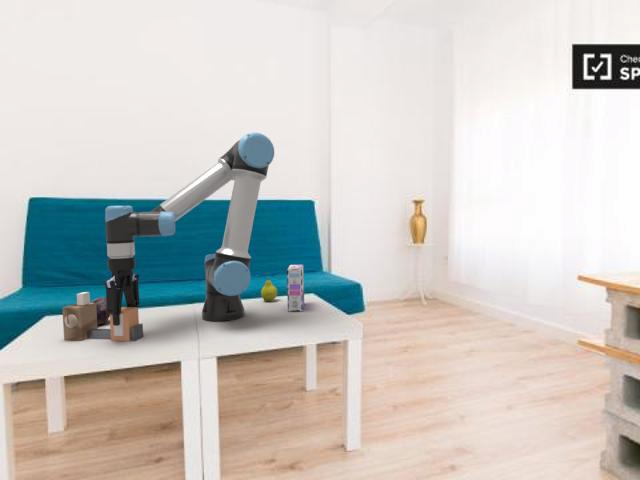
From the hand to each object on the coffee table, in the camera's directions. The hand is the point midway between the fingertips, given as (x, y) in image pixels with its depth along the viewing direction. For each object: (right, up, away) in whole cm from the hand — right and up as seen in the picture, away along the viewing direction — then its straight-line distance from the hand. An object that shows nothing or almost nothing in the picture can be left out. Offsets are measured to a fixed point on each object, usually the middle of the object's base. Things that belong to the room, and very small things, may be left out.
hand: (125, 332), depth 126 cm
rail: (-4, -2, +1) cm, 5 cm away
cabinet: (-15, -2, +2) cm, 15 cm away
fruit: (+38, +2, +50) cm, 63 cm away
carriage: (0, -2, 0) cm, 2 cm away
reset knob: (-14, +8, +2) cm, 16 cm away
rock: (-18, -1, +18) cm, 25 cm away
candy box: (+50, +1, +37) cm, 62 cm away
